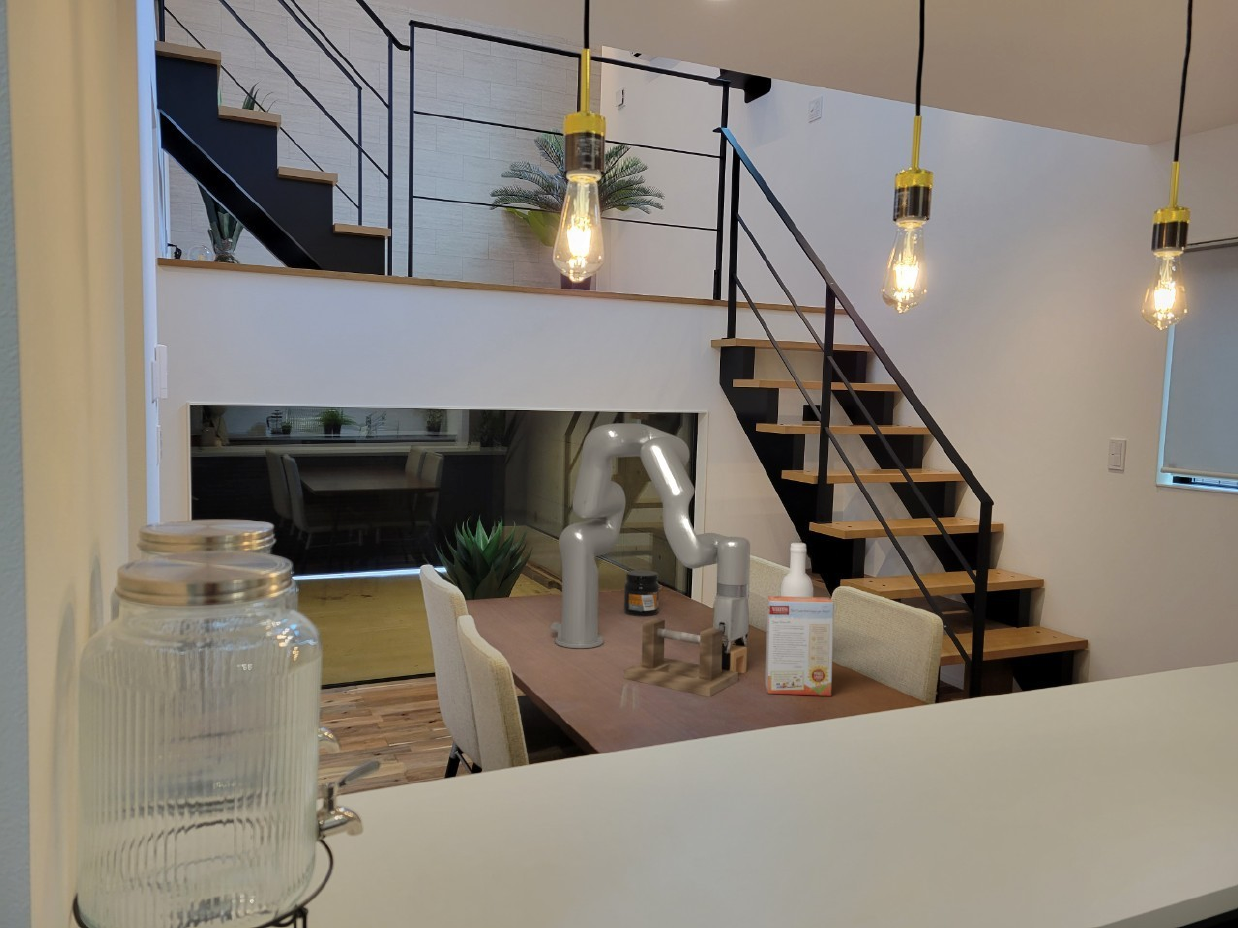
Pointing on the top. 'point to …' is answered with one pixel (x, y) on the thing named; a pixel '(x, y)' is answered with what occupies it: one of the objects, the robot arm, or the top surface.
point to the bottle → (797, 574)
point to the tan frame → (659, 669)
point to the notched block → (738, 658)
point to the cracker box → (799, 645)
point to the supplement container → (641, 593)
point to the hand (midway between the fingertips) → (731, 664)
